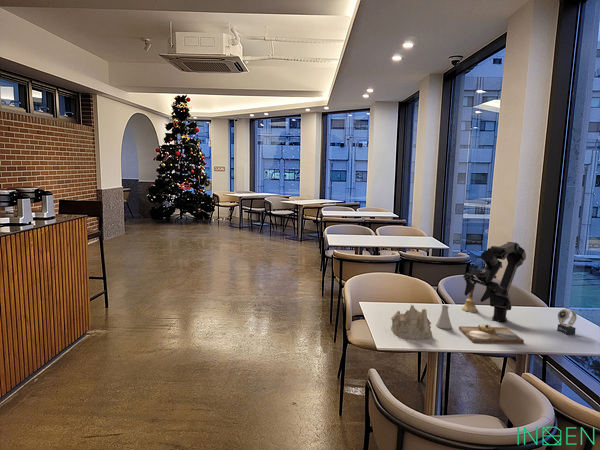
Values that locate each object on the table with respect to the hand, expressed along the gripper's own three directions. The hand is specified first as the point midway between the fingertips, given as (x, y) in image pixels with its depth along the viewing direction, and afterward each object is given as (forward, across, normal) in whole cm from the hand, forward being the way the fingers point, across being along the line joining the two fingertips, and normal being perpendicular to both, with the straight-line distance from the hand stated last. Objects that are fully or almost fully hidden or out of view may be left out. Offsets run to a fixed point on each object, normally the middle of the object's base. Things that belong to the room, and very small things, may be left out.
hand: (472, 298), depth 194 cm
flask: (+18, -6, +1) cm, 19 cm away
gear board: (+11, +11, +9) cm, 18 cm away
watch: (-12, +20, +39) cm, 46 cm away
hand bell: (0, -20, +26) cm, 33 cm away
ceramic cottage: (+30, -5, -15) cm, 34 cm away
